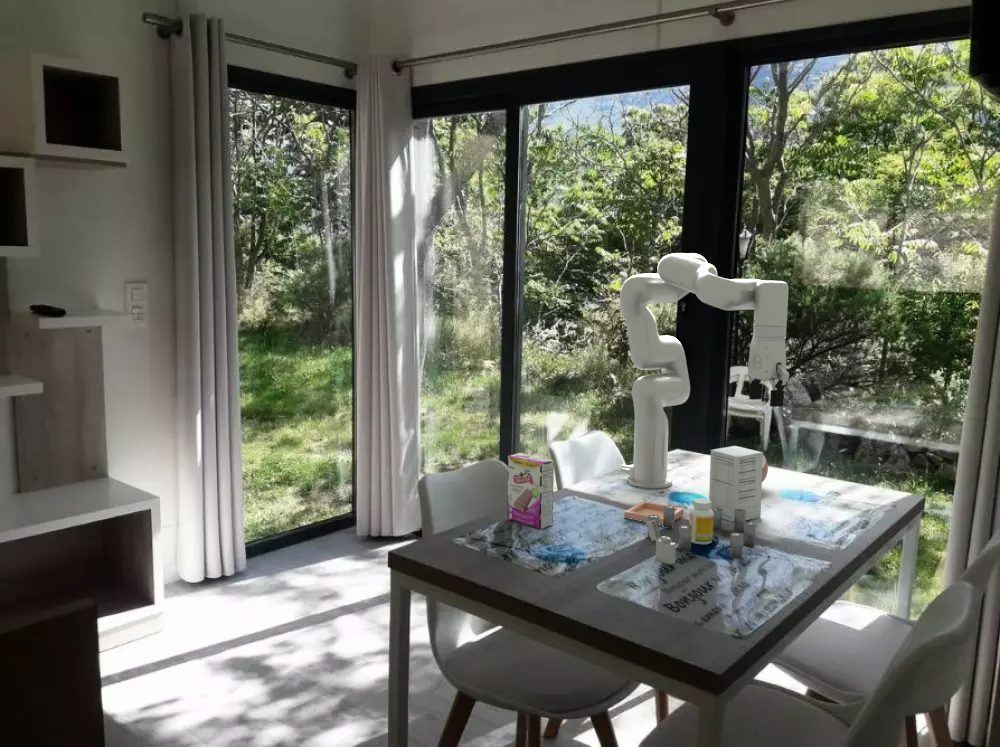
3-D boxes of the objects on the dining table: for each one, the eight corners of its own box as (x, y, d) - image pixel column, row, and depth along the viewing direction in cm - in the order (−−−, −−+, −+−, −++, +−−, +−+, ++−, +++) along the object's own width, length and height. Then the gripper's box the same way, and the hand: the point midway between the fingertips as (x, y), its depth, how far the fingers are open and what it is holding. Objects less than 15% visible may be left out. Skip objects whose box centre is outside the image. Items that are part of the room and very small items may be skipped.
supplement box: (761, 518, 207) (765, 452, 204) (735, 523, 202) (738, 456, 199) (733, 507, 215) (736, 444, 212) (707, 513, 210) (709, 448, 208)
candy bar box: (506, 520, 204) (506, 455, 201) (519, 515, 207) (520, 452, 205) (540, 530, 196) (541, 463, 194) (553, 525, 200) (554, 459, 197)
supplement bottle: (683, 540, 190) (685, 500, 189) (698, 535, 193) (699, 495, 192) (702, 546, 186) (704, 505, 184) (717, 541, 189) (719, 501, 188)
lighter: (675, 562, 176) (676, 526, 175) (670, 564, 175) (671, 528, 174) (649, 553, 181) (650, 518, 180) (644, 555, 180) (645, 520, 179)
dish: (624, 518, 205) (624, 511, 205) (643, 507, 214) (643, 501, 214) (665, 527, 199) (666, 519, 199) (683, 515, 208) (683, 508, 208)
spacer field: (639, 541, 189) (640, 520, 188) (677, 517, 207) (677, 497, 206) (736, 562, 176) (737, 539, 176) (767, 534, 194) (768, 514, 193)
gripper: (737, 329, 205) (734, 397, 208) (774, 336, 188) (770, 409, 191) (765, 329, 207) (761, 396, 209) (804, 336, 190) (799, 408, 192)
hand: (765, 402), depth 200 cm, fingers open, 9 cm apart
